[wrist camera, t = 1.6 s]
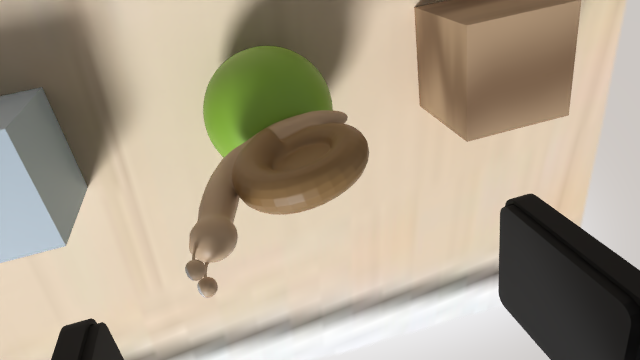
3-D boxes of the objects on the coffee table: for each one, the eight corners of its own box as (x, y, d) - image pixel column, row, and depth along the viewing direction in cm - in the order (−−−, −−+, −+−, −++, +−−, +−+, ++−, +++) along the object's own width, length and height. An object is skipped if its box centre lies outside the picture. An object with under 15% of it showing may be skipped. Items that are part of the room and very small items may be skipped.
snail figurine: (159, 74, 21) (134, 210, 11) (290, 14, 22) (387, 93, 11) (215, 171, 24) (237, 353, 14) (331, 118, 24) (439, 257, 14)
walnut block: (413, 7, 23) (466, 25, 19) (509, -14, 24) (581, -1, 19) (419, 105, 25) (466, 141, 21) (505, 84, 26) (568, 115, 22)
